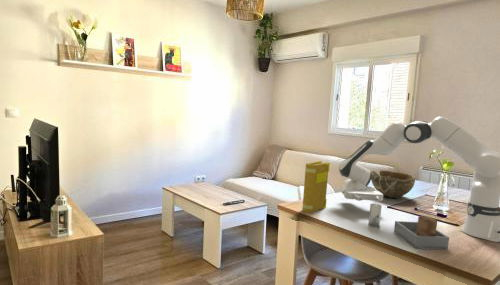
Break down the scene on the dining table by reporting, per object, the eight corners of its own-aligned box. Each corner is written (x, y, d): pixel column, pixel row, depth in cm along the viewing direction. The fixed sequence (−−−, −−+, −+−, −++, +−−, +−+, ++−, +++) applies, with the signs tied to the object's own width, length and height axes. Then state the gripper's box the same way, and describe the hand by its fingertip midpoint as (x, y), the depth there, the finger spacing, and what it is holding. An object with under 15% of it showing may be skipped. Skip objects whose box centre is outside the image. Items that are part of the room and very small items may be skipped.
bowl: (358, 192, 221) (360, 170, 219) (387, 189, 232) (389, 169, 231) (391, 203, 196) (394, 179, 195) (422, 200, 208) (425, 177, 206)
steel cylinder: (376, 223, 159) (378, 203, 158) (381, 227, 154) (383, 206, 153) (366, 223, 159) (368, 203, 158) (370, 227, 154) (373, 206, 153)
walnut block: (427, 239, 140) (429, 216, 139) (434, 244, 135) (437, 220, 134) (415, 238, 139) (418, 216, 138) (422, 243, 134) (425, 220, 133)
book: (314, 204, 185) (318, 160, 183) (325, 207, 181) (329, 162, 178) (299, 210, 172) (303, 163, 170) (310, 213, 168) (314, 165, 165)
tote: (422, 232, 150) (423, 222, 150) (447, 249, 133) (449, 237, 132) (393, 231, 149) (395, 221, 149) (415, 248, 132) (416, 236, 131)
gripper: (340, 185, 181) (349, 192, 167) (377, 187, 182) (388, 194, 168) (339, 196, 181) (348, 204, 168) (375, 198, 183) (387, 206, 169)
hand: (368, 199), depth 168 cm, fingers open, 8 cm apart
